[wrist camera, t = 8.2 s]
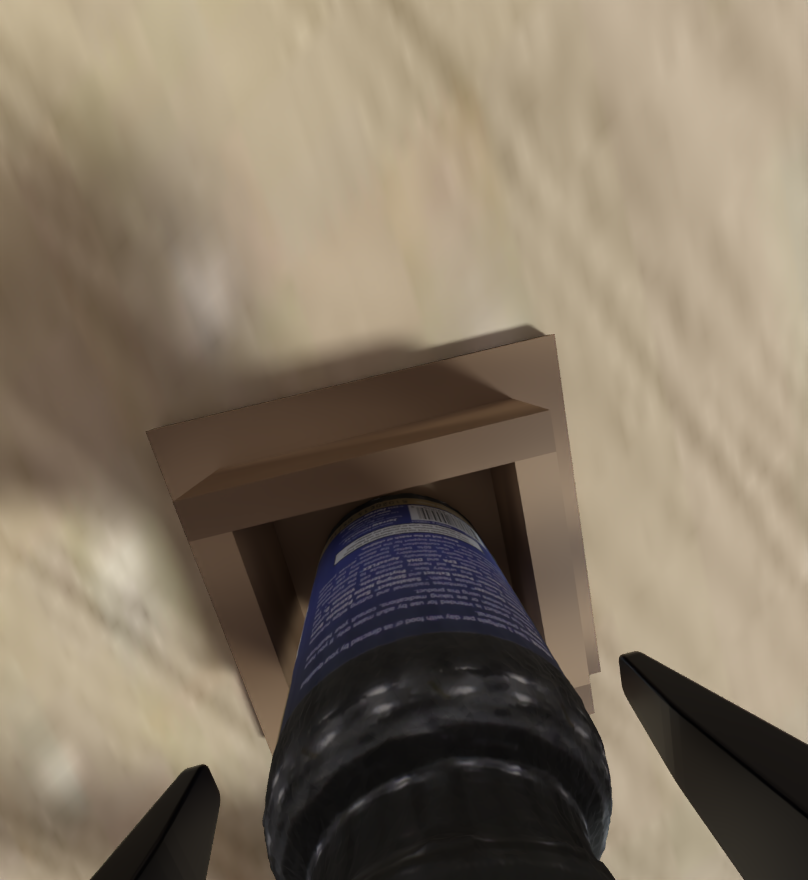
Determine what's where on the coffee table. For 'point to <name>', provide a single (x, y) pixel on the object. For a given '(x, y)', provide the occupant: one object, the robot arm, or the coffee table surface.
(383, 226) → the coffee table surface
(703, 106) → the coffee table surface
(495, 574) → the pill bottle
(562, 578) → the walnut holder
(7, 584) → the coffee table surface
